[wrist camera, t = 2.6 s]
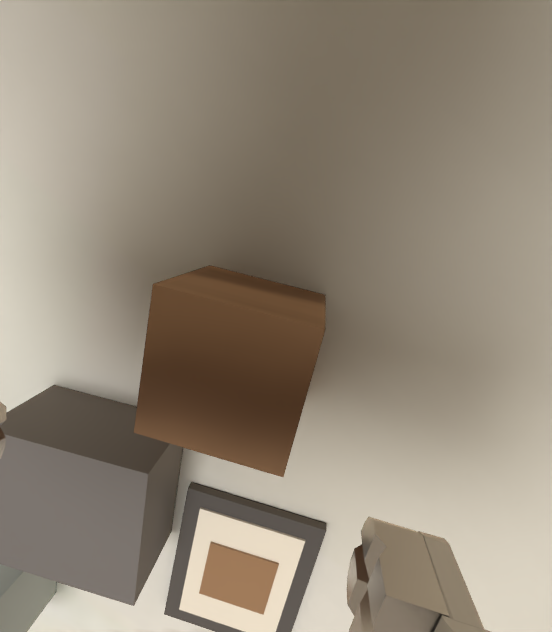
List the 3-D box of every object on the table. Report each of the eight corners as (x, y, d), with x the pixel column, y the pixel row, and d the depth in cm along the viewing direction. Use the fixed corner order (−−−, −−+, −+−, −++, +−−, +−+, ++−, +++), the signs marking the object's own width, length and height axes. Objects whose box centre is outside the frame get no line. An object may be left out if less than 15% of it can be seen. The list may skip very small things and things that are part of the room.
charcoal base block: (57, 383, 17) (-20, 427, 13) (188, 417, 17) (148, 474, 13) (55, 493, 19) (-12, 560, 15) (173, 527, 19) (133, 605, 15)
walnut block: (210, 265, 14) (152, 284, 10) (325, 294, 14) (325, 329, 9) (191, 370, 16) (133, 432, 11) (296, 399, 15) (283, 477, 11)
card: (191, 482, 17) (186, 491, 17) (326, 523, 17) (326, 534, 16) (167, 606, 20) (162, 618, 19) (284, 646, 19) (282, 658, 19)
